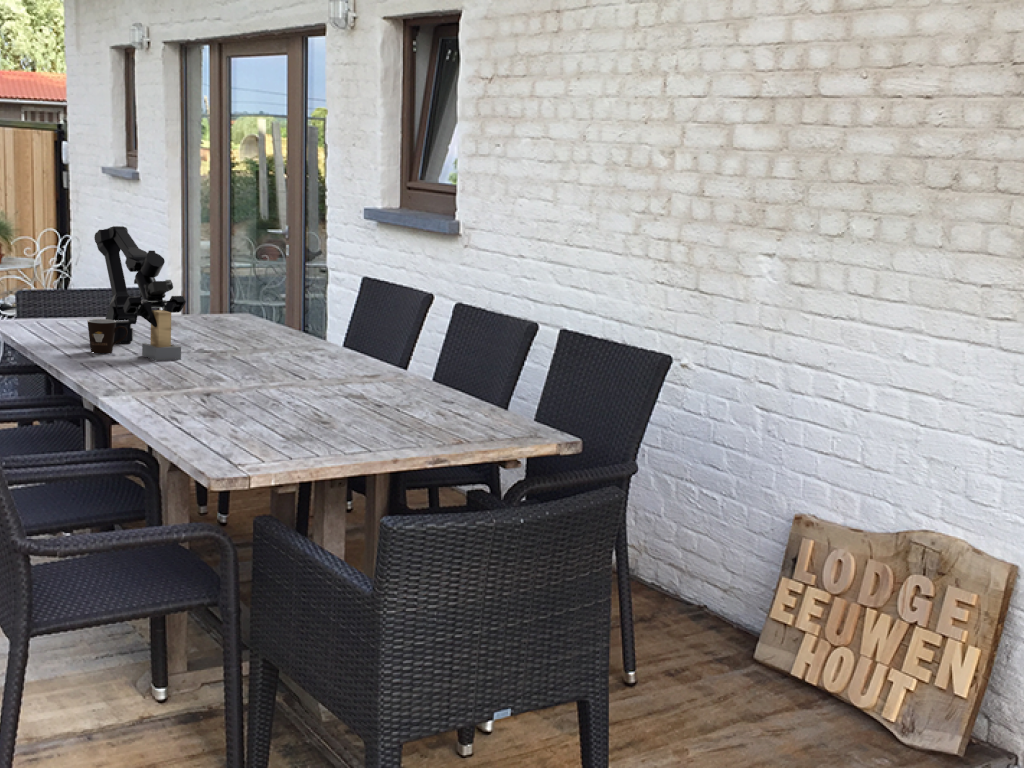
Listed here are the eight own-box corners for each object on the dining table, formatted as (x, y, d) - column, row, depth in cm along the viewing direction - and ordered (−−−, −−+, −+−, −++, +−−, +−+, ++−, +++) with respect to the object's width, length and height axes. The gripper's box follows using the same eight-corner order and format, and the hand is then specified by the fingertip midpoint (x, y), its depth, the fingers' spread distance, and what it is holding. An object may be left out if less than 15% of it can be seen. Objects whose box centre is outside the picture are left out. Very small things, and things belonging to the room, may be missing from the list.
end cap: (142, 355, 380) (142, 343, 380) (167, 354, 386) (167, 342, 385) (155, 360, 373) (155, 348, 372) (180, 359, 379) (181, 346, 378)
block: (150, 344, 380) (150, 310, 378) (162, 344, 383) (162, 309, 381) (158, 347, 376) (159, 312, 374) (170, 347, 378) (171, 312, 376)
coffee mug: (81, 352, 379) (81, 320, 377) (100, 349, 387) (100, 318, 385) (111, 356, 375) (111, 325, 373) (129, 353, 383) (129, 322, 381)
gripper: (127, 271, 372) (142, 311, 366) (183, 270, 384) (199, 309, 378) (116, 293, 379) (131, 333, 373) (172, 292, 391) (187, 330, 385)
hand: (162, 326), depth 377 cm, fingers closed on block, 4 cm apart
